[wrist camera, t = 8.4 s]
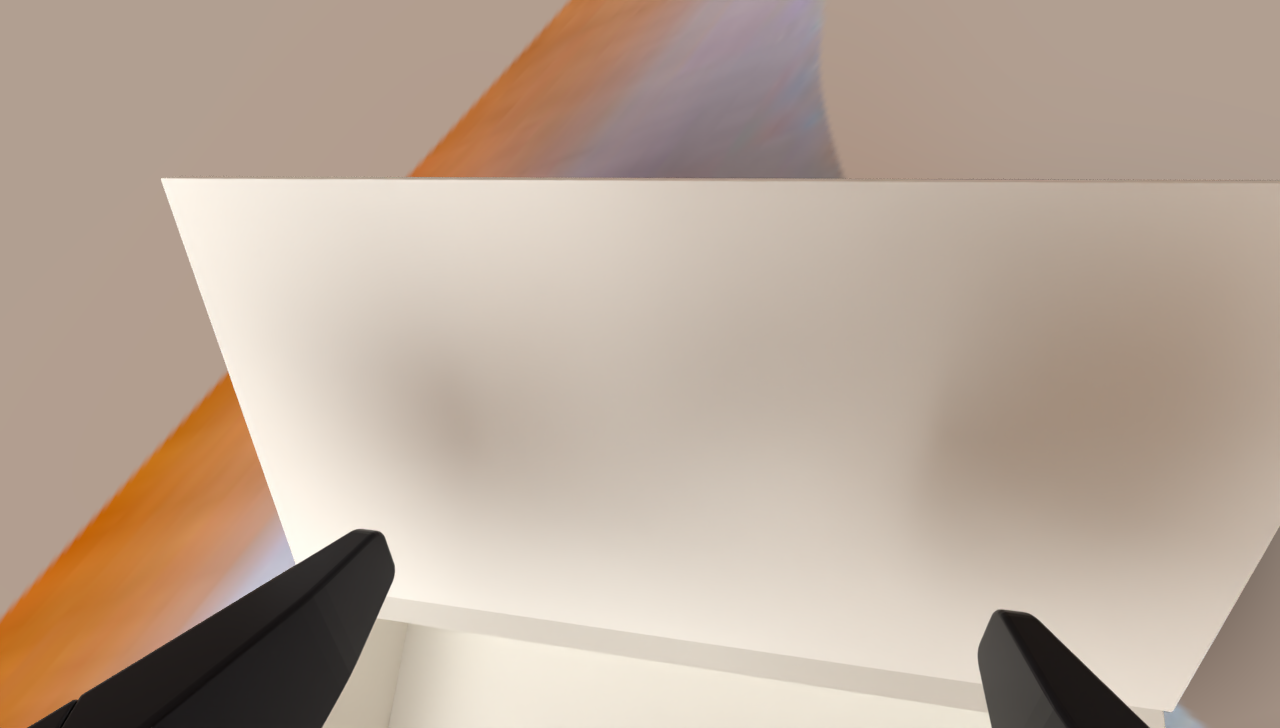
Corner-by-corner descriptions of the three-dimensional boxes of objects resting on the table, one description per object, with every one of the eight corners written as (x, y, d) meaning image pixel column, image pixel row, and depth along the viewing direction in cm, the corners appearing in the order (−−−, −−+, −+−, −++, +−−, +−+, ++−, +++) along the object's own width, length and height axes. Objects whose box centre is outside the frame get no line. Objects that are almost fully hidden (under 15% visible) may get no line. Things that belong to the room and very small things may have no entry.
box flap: (1172, 712, 11) (1476, 184, 7) (302, 584, 14) (160, 178, 10) (1159, 692, 11) (1440, 181, 7) (314, 572, 15) (180, 176, 11)
